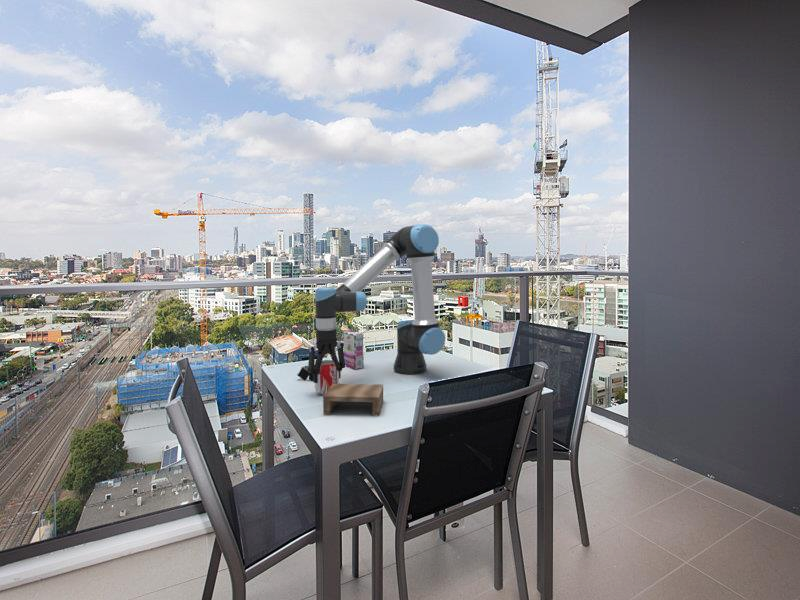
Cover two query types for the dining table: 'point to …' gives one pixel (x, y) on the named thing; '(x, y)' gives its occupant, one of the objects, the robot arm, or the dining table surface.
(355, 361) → the candy bar box
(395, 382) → the dining table surface
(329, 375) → the soda can
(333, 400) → the walnut shelf
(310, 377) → the lighter
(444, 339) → the robot arm
